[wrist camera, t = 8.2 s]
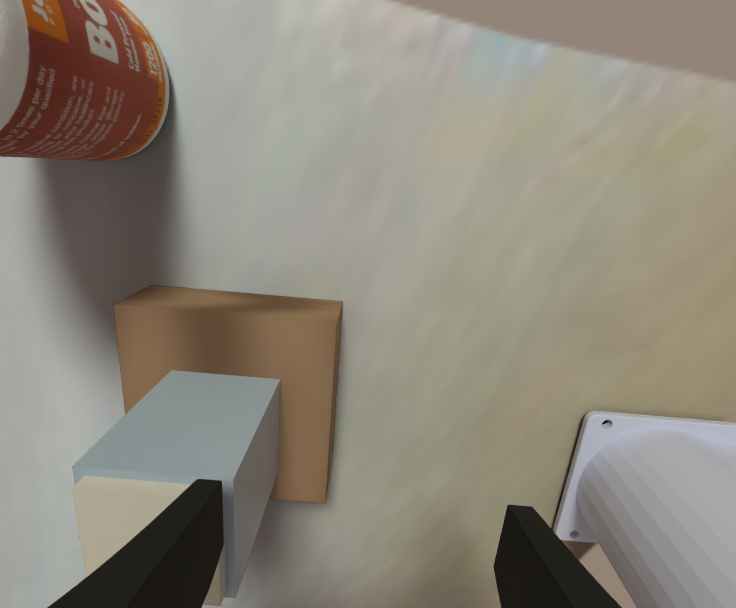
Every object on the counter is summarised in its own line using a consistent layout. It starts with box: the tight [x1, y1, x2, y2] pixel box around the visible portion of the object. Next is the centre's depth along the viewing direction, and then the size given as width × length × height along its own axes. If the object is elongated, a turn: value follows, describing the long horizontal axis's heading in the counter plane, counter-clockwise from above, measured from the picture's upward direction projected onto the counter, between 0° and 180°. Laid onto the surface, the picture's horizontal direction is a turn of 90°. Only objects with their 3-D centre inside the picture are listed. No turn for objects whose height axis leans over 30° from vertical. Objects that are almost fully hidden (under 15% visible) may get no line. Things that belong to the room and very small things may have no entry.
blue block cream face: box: [72, 370, 280, 606], centre depth 15 cm, size 5×5×6 cm
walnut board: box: [113, 285, 343, 503], centre depth 20 cm, size 9×9×3 cm
